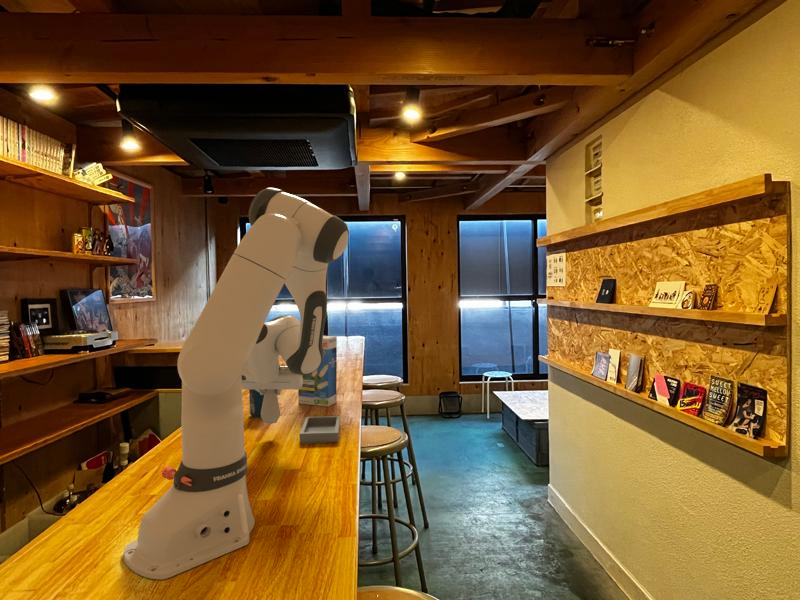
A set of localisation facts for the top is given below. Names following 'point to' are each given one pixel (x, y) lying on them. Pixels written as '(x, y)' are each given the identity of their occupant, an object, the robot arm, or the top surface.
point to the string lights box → (322, 378)
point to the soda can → (255, 403)
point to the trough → (320, 430)
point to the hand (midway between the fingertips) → (270, 393)
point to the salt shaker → (270, 407)
